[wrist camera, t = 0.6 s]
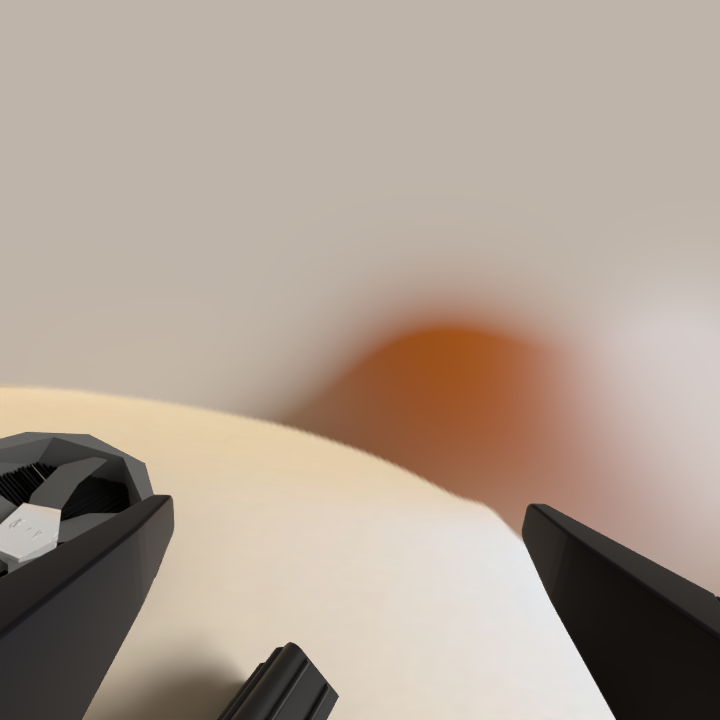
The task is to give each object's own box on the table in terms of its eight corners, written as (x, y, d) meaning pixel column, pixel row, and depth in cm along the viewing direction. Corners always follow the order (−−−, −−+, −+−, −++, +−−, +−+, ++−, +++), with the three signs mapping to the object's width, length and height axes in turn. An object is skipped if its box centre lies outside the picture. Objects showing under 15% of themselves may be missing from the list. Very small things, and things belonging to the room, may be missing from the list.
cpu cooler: (-240, 515, 12) (85, 401, 21) (-191, 586, 15) (78, 458, 23) (-77, 758, 10) (204, 519, 19) (-56, 786, 13) (181, 567, 21)
